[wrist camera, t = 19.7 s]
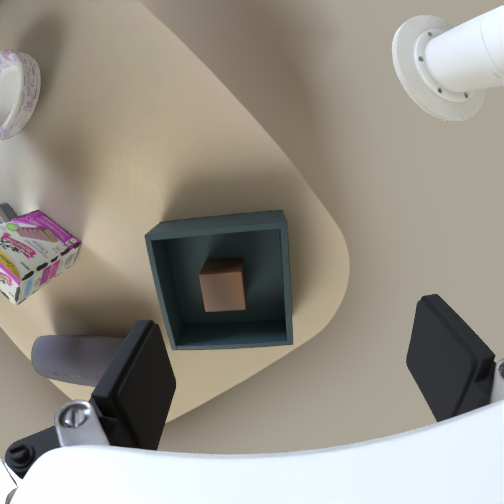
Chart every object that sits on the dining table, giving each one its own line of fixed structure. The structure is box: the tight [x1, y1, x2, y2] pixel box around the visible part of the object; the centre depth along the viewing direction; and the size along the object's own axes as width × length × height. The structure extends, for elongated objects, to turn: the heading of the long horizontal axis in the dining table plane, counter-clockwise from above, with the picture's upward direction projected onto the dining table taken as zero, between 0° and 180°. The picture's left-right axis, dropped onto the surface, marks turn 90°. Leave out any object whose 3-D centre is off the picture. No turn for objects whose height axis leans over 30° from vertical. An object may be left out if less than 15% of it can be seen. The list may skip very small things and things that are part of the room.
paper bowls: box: [0, 50, 41, 139], centre depth 32 cm, size 15×15×8 cm
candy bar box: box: [0, 210, 81, 306], centre depth 36 cm, size 11×5×16 cm, turn 56°
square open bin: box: [145, 210, 293, 350], centre depth 42 cm, size 18×18×7 cm
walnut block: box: [199, 257, 247, 312], centre depth 42 cm, size 6×6×6 cm
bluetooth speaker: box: [31, 335, 125, 387], centre depth 47 cm, size 23×9×10 cm, turn 96°
